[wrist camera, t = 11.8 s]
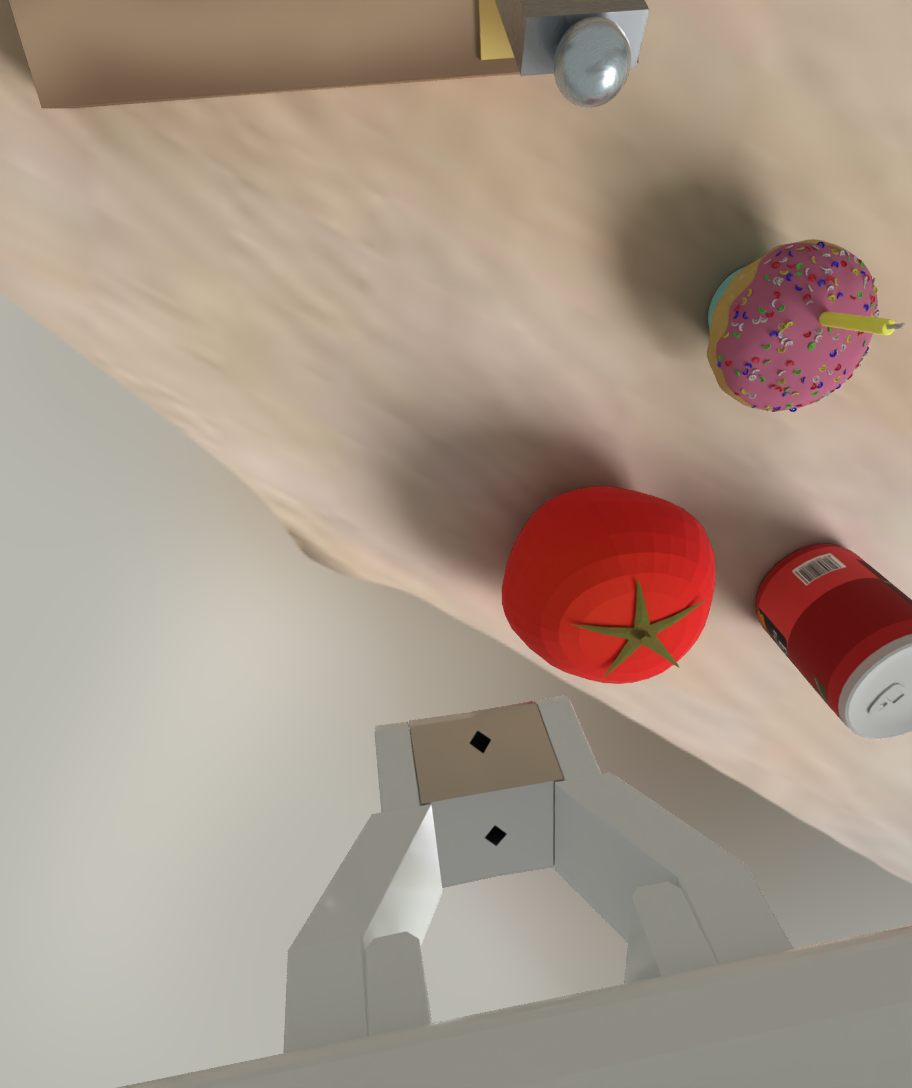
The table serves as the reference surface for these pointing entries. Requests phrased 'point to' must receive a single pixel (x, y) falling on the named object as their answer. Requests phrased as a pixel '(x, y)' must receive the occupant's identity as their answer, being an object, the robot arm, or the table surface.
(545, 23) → the grey knob lever
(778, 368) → the cupcake
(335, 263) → the table surface
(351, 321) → the table surface
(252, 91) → the switch box
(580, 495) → the tomato
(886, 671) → the canned food
